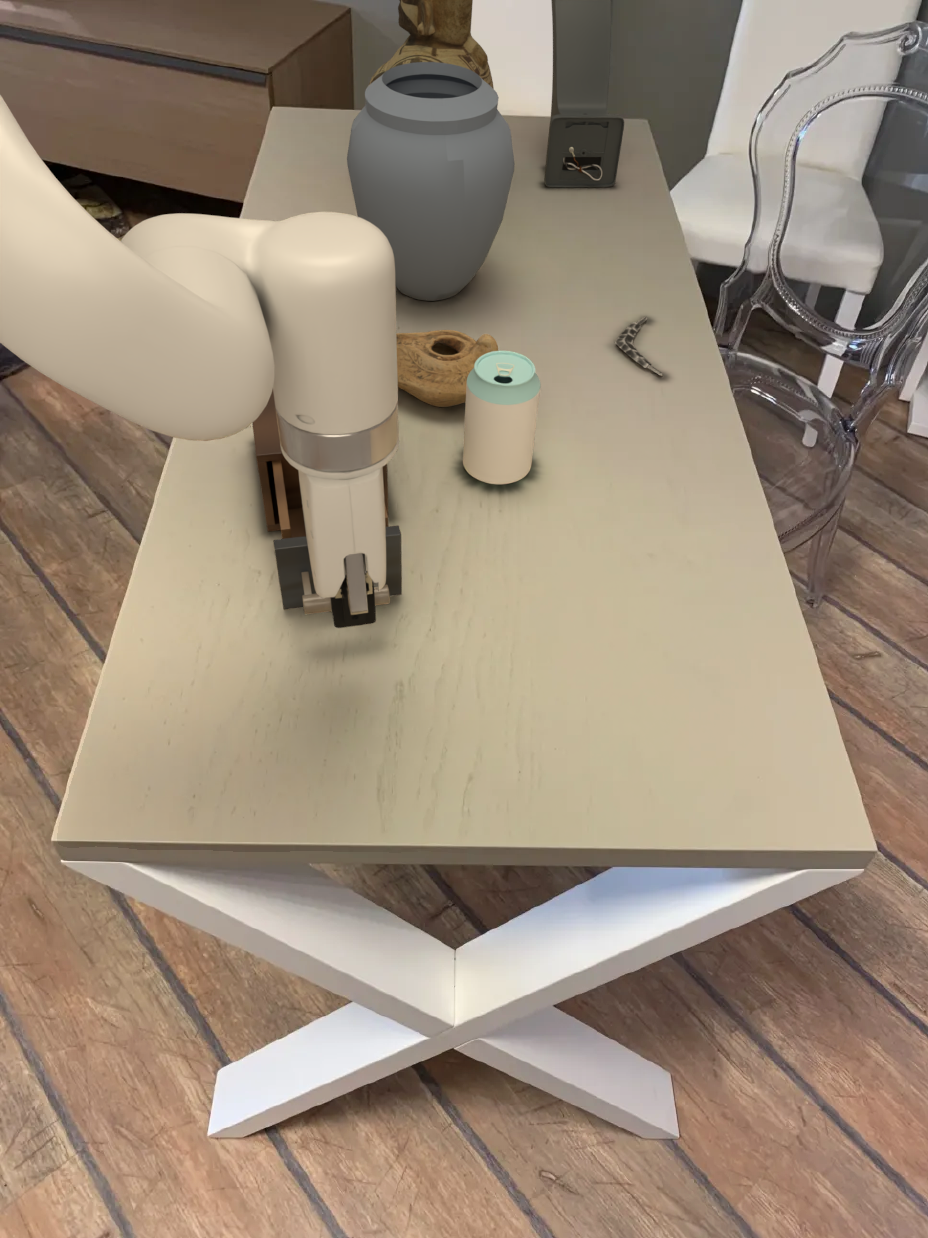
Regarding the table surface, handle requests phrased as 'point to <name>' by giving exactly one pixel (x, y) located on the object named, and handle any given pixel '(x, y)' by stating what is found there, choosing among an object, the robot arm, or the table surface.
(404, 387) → the oil lamp
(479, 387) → the can
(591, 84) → the light fixture
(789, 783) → the table surface
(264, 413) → the cabinet
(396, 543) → the drawer
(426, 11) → the brown tall carved piece
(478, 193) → the vase
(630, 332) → the boomerang
